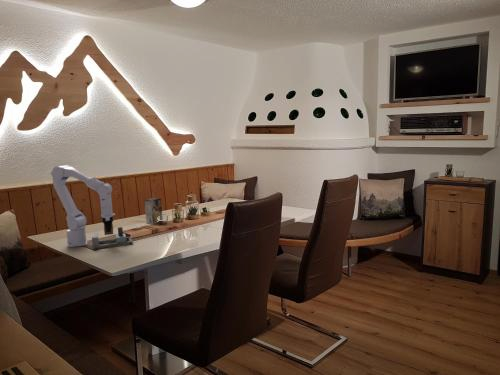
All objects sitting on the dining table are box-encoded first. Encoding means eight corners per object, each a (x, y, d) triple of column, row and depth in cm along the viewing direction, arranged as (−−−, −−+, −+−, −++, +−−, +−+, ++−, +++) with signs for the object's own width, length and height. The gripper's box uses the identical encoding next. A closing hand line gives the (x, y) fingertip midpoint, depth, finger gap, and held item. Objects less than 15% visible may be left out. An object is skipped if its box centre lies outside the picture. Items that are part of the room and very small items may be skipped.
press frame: (92, 249, 202) (91, 238, 201) (93, 244, 212) (92, 233, 211) (132, 244, 209) (131, 233, 208) (131, 239, 219) (130, 229, 218)
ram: (116, 245, 208) (115, 229, 206) (116, 241, 215) (114, 226, 214) (126, 243, 209) (125, 228, 208) (125, 240, 217) (124, 225, 216)
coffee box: (156, 220, 266) (154, 197, 264) (162, 221, 262) (161, 198, 260) (146, 223, 258) (144, 199, 256) (152, 224, 255) (151, 200, 252)
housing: (104, 235, 206) (103, 225, 206) (104, 233, 210) (103, 224, 210) (113, 234, 208) (112, 224, 207) (113, 232, 212) (112, 223, 211)
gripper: (114, 207, 202) (117, 233, 204) (113, 203, 215) (115, 227, 217) (100, 209, 199) (102, 234, 201) (100, 204, 213) (102, 228, 215)
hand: (108, 231), depth 209 cm, fingers closed on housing, 4 cm apart
